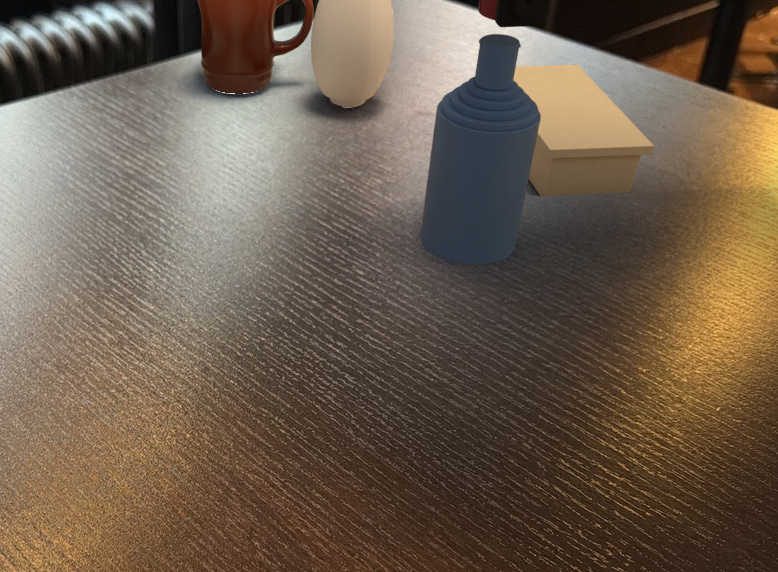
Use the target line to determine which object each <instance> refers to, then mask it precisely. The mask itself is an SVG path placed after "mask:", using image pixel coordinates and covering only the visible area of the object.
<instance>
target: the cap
mask: <svg viewBox="0 0 778 572" xmlns="http://www.w3.org/2000/svg"><path fill="white" fill-rule="evenodd" d="M497 1H498V0H480V2H478V13H479V14H480V16H482V17H484V18H486V19H490V20H492V21H495V15H496V8H497Z"/></svg>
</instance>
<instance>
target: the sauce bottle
mask: <svg viewBox="0 0 778 572" xmlns="http://www.w3.org/2000/svg"><path fill="white" fill-rule="evenodd" d="M392 4H393V3H392V0H318V3H317V5H316V9H315V12H314V16H313V22H312V27H311V35H310V36H311V37H310V55H311V64H312V71H313V73H314V78H315V80H316V83H317V86H318V88H319V89H320V91H321V93H322V94H323V96H325V97H326V98H328V99H329V101H330V102H331V103H332V104H334V105H336V106H338V107H339V106H344V107H355V108H356V107H360V106H362V105H364V103H365V102H366V101H367V100H369V99H371V98H372V97H373V96H375V94H376V93H377V91H378V90H379V88H380V86H381V85H382V83H383V81H384V80H385V78H386V75H387V72H388V70H389V66H390V62H391V58H392V53H393V46H394V36H395V35H394V33H395V28H394V27H395V23H394V21H395V20H394V11H393V5H392Z"/></svg>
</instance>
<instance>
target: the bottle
mask: <svg viewBox="0 0 778 572" xmlns="http://www.w3.org/2000/svg"><path fill="white" fill-rule="evenodd" d="M478 44H479V48H478V52H477V53H478V54H477V60H476V67H475V73H474V76H472V77H470V78H469V79H468V80H467V81H464V82H463V83H462V84H460V85H459V86H457V87H454V89H453V90H452V91H449V92H447V93H446V94H445V95H444V96H443V97H442V99H441V100H440V102H438V104H437V106H436V112H435V120H434V128H433V134H432V142H431V150H430V156H429V157H430V158H429V166H428V173H427V179H426V180H427V182H426V187H425V195H424V203H423V211H422V219H421V226H420V233H419V237H420V242H421V244H422V246H423V247H424V248H425V250H427V251H428V252H430V253H431V254H433V255H434V256H436V257H438V258H441V259H443V260H446V261H449V262H452V263H457V264H461V265H471V266H474V265H475V266H476V265H478V266H479V265H488V264H495V263H498V262H500V261H503V260H505V259H507V258H508V257H509V256H511V255H512V254H513V252H514V251H515V248H516V244H517V240H518V239H517V238H518V234H519V228H520V224H521V219H522V213H523V208H524V204H525V198H526V193H527V187H528V183H529V174H530V169H531V164H532V159H533V154H534V149H535V144H536V139H537V134H538V129H539V124H540V119H541V115H540V112H539V111H538V107H537V105H536V103H535V102H534V101H533V100H532V99H531V98H530V97H529V96H528V95H527V94H526V93H525V92H524V90H523V89H522V88H521V87H519V86H518V84H517V83H516V82H515V81H514V80H513V79H514V73H515V68H516V67H517V61H518V56H519V50H520V49H521V47H522V45H521V42H520V40H519V39H518V38H517V37H514V36H512V35H508V34H503V33H492V34H491V33H490V34H486V35H483V36H482V37H480V38H479V39H478Z"/></svg>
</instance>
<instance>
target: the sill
mask: <svg viewBox="0 0 778 572" xmlns="http://www.w3.org/2000/svg"><path fill="white" fill-rule="evenodd" d="M513 80H514V81H515V82H516V83H517V84H518V86H519V87H521V88H522V89H523V90H524V92H525V93H526V94H527V95H528V96H529V97H530V98H531V99H532V100H533V101H534V102H535V103H536V105H537V107H538V111H539V112H540V115H541V119H540V124H539V129H538V134H537V139H536V144H535V149H534V154H533V159H532V164H531V169H530V174H529V179H528V181H529V182H530V183H531V184H532V186H533V187H534V189H535V191H536V192H537V193H538V195H539V197H554V196H556V197H557V196H577V195H578V196H579V195H600V194H602V195H603V194H626V193H631V192H632V190H633V189H632V188H633V185H634V181H635V177H636V174H637V171H638V167H639V164H640V160H641V156H646V155H647V156H648V155H649V156H651V155H653V151H654V147H655V145H654V144H653V143H652V142H651V141H650V139H649V138H647V137H646V135H645V134H643V132H642V131H641V129H639V128H638V127H637V126H636V125H635V124H634V122H633V121H631V119H630V118H629V117H628V116H626V114H625V113H624V112H623V111H622V110H621V109H620V108H619V107H618V106H617V104H615V102H614V101H613V100H611V98H610V97H609V96H608V95H607V94H606V93H605V92H604V90H603V89H601V88H600V86H599V85H598V84H597V83H595V81H594V80H593V79H592V78H591V77H590V76H589V75H588V74H587V73H586V72H585V70H583V68H582V67H581V66H580V65H579V64H557V65H556V64H555V65H551V64H550V65H524V66H523V65H522V66H521V65H520V66H519V65H518V66H516V68H515V73H514V79H513Z"/></svg>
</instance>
